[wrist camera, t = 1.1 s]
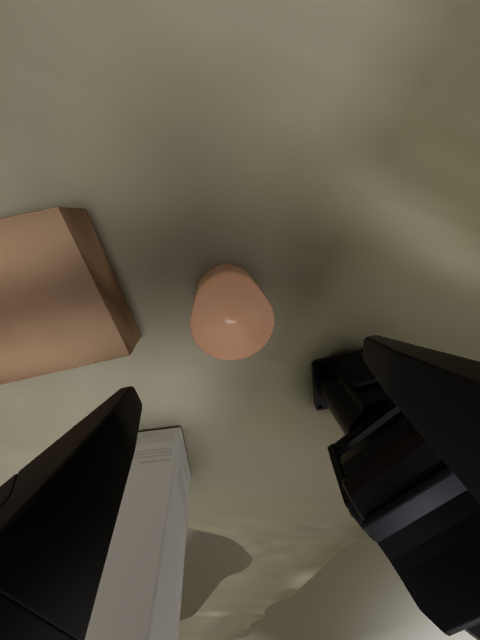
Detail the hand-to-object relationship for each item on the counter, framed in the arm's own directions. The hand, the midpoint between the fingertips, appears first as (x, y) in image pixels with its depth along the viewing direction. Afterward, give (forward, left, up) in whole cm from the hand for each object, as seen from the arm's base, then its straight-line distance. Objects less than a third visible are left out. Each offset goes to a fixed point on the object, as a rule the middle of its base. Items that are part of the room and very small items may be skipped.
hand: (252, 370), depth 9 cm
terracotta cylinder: (0, 0, -11) cm, 11 cm away
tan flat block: (+3, +13, -11) cm, 18 cm away
